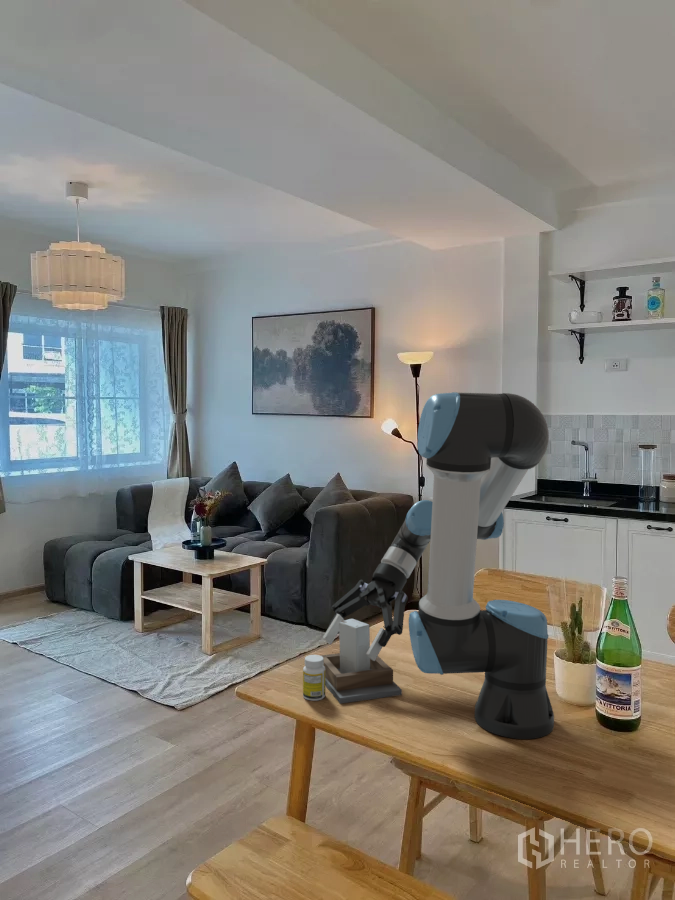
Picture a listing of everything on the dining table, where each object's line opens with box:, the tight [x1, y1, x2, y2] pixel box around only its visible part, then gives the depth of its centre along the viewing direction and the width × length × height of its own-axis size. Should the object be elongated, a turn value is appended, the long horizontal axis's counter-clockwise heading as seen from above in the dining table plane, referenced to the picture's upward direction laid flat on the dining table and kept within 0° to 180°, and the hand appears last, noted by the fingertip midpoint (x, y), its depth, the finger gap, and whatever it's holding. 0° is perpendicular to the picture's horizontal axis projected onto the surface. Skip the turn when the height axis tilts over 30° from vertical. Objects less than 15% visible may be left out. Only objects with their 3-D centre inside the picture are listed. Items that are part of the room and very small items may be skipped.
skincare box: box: [338, 618, 371, 674], centre depth 156 cm, size 6×4×12 cm
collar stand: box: [320, 652, 403, 704], centre depth 156 cm, size 20×14×4 cm
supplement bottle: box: [302, 654, 326, 702], centre depth 148 cm, size 5×5×8 cm
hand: (347, 649), depth 154 cm, fingers open, 13 cm apart
